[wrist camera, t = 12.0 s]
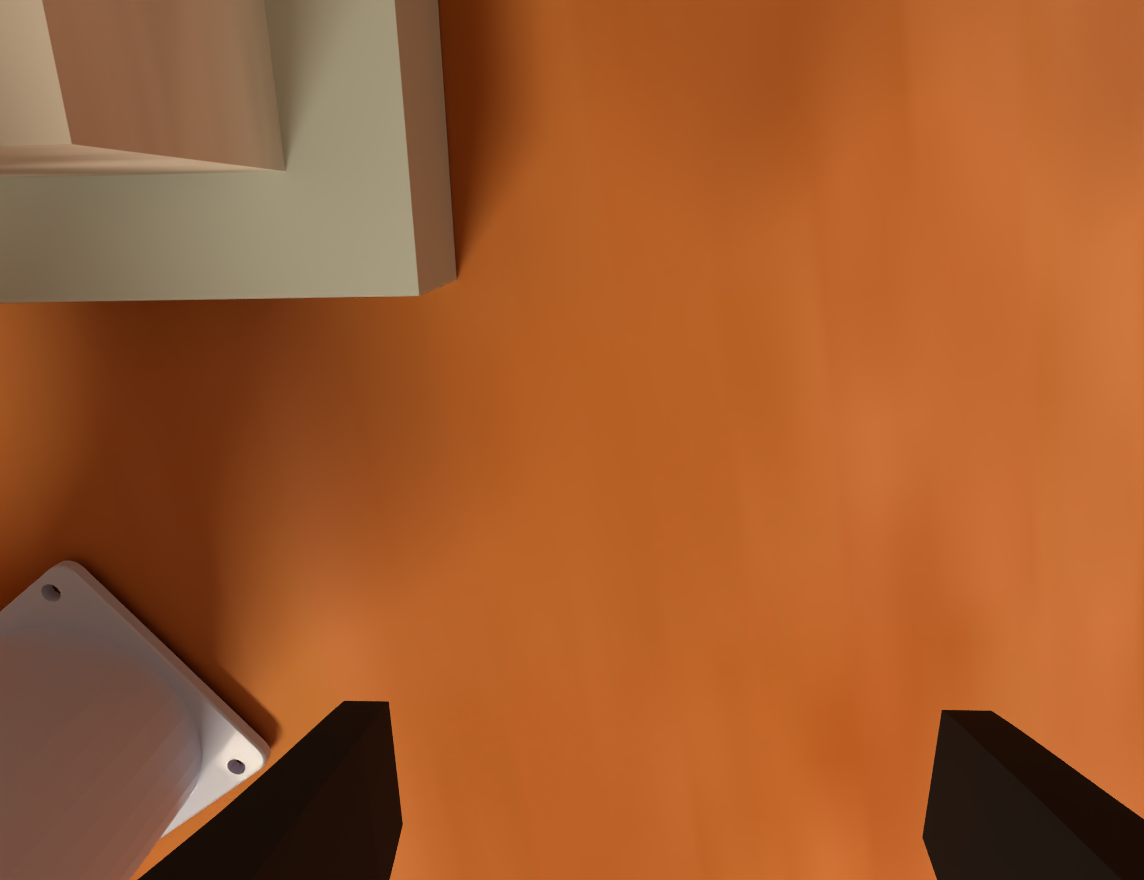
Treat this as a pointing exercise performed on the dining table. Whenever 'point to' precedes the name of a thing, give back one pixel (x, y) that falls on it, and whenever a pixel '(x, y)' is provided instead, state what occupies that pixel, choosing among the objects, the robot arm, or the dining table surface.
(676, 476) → the dining table surface
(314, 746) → the robot arm
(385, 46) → the sage pedestal
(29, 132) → the cream cube
